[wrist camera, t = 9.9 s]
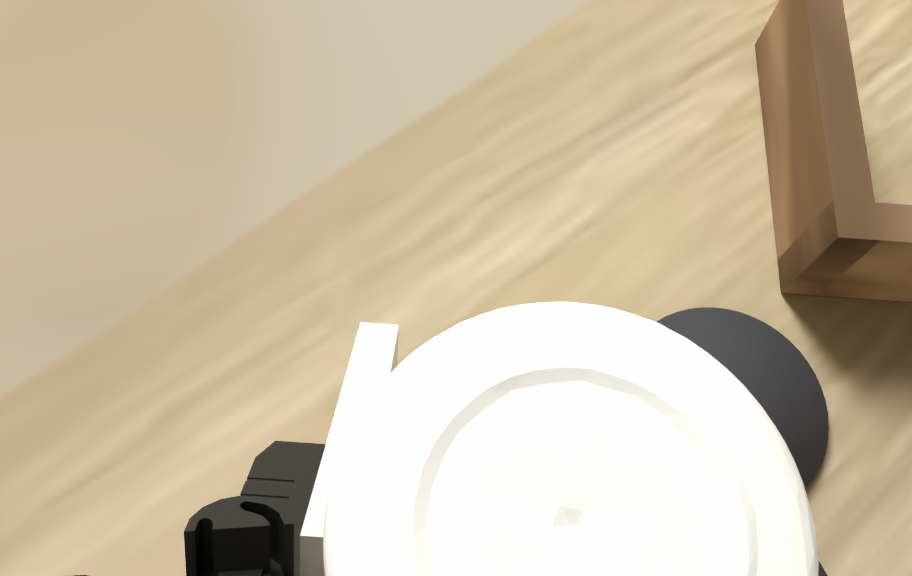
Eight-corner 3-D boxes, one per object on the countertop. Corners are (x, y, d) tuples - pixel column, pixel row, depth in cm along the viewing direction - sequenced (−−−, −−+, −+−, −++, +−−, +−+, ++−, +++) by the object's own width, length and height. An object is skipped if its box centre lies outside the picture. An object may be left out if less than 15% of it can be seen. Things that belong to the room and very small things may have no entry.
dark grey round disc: (811, 318, 27) (815, 314, 26) (836, 524, 24) (841, 523, 24) (611, 304, 27) (613, 300, 26) (615, 510, 24) (617, 508, 24)
